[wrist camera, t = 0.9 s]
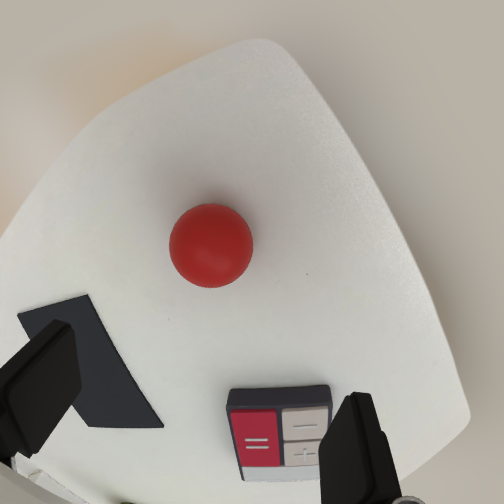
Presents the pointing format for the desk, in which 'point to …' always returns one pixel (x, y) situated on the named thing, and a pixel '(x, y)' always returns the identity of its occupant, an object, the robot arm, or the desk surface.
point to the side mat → (96, 368)
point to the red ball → (211, 245)
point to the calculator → (279, 431)
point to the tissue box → (55, 487)
